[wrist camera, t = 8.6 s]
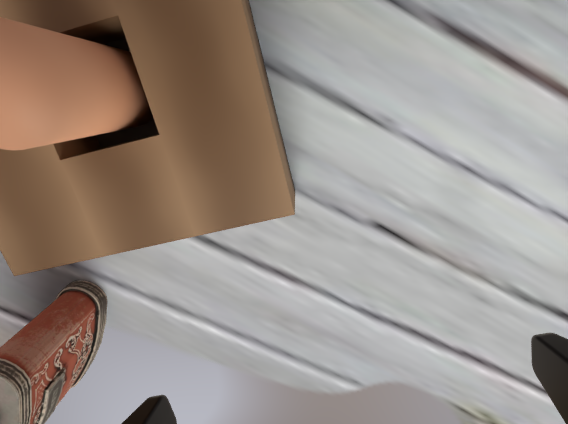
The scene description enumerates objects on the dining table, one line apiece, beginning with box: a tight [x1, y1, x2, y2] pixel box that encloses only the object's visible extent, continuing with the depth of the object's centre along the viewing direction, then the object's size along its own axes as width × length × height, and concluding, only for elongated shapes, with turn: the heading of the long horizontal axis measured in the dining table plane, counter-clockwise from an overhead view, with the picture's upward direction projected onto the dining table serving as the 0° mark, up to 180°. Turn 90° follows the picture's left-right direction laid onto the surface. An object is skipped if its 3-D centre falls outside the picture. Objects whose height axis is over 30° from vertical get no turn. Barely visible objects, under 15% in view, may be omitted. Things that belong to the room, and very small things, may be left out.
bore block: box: [0, 0, 295, 276], centre depth 16 cm, size 14×14×4 cm
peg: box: [0, 17, 153, 150], centre depth 14 cm, size 4×4×8 cm
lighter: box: [0, 281, 107, 424], centre depth 18 cm, size 8×3×10 cm, turn 157°
